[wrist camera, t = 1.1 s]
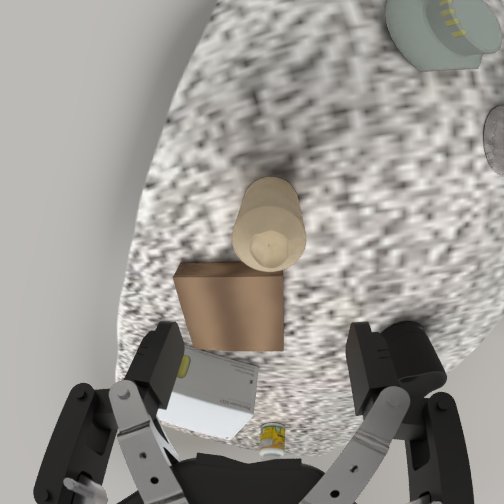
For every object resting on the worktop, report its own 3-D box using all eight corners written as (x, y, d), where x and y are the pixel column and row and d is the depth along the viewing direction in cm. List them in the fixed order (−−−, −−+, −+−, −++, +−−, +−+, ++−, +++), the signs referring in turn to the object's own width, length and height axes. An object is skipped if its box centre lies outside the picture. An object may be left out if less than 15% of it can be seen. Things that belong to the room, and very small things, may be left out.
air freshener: (394, 75, 20) (448, 67, 11) (364, 3, 16) (403, -34, 8) (470, 69, 17) (529, 70, 9) (445, 4, 14) (497, -14, 5)
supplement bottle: (257, 424, 53) (253, 461, 44) (279, 420, 51) (277, 459, 43) (267, 432, 55) (265, 467, 47) (288, 428, 53) (287, 465, 45)
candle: (232, 196, 28) (212, 242, 19) (277, 165, 26) (278, 197, 17) (265, 235, 30) (259, 294, 21) (308, 208, 28) (322, 259, 19)
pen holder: (420, 350, 38) (438, 397, 29) (369, 364, 40) (381, 415, 31) (428, 311, 34) (454, 362, 25) (370, 326, 35) (387, 384, 27)
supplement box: (260, 364, 41) (255, 415, 33) (236, 399, 48) (230, 441, 40) (156, 332, 40) (135, 380, 32) (151, 373, 46) (136, 414, 38)
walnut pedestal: (282, 261, 31) (283, 276, 29) (283, 334, 37) (283, 351, 34) (180, 263, 32) (172, 277, 30) (199, 333, 38) (194, 348, 36)
